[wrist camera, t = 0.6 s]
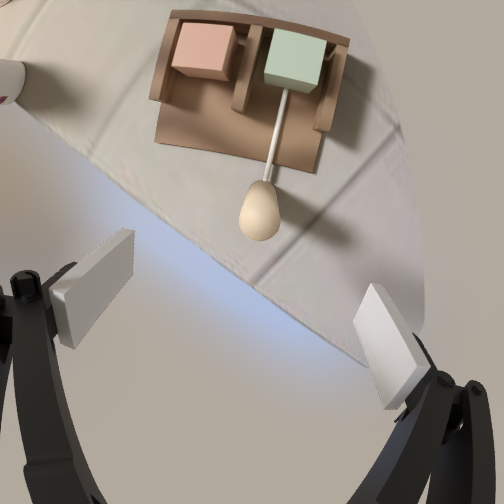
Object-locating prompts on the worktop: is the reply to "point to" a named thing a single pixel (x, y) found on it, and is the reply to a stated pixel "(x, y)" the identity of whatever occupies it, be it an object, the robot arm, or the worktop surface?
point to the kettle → (3, 2)
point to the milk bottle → (11, 80)
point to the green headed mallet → (289, 77)
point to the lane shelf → (246, 95)
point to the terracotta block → (206, 51)
